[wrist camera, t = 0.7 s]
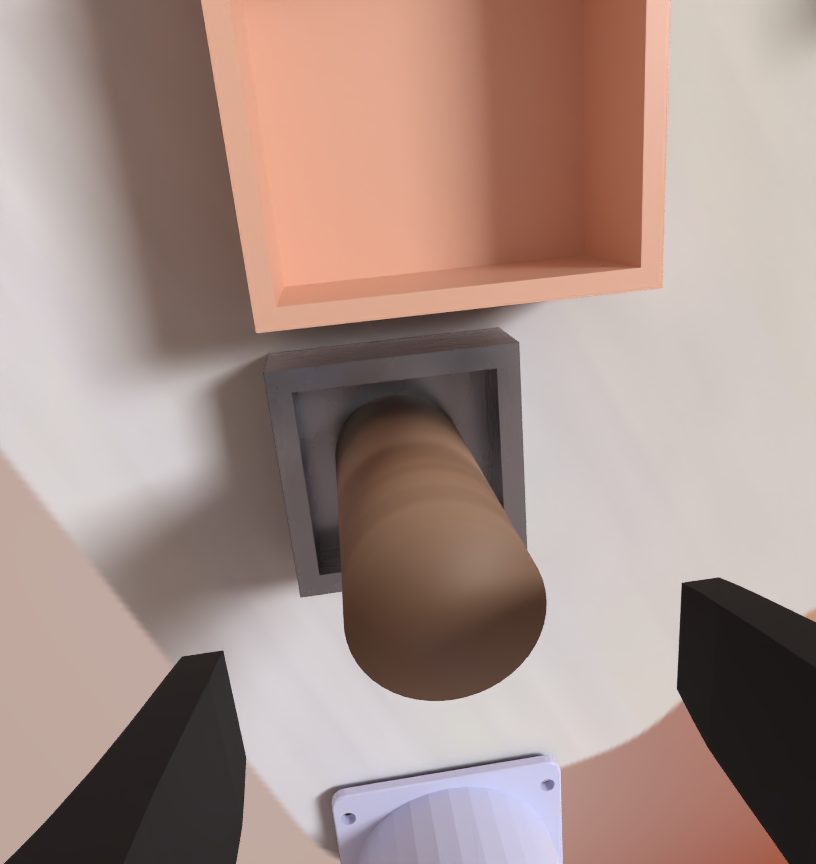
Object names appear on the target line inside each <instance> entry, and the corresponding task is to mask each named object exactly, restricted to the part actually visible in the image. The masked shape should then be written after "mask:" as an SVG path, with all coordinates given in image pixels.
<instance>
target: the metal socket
mask: <svg viewBox="0 0 816 864" xmlns="http://www.w3.org/2000/svg"><path fill="white" fill-rule="evenodd" d="M263 373H264V379H265V385H266V391H267V397H268V403H269V409H270V415H271V421H272V428H273V434H274V440H275V446H276V452H277V458H278V464H279V470H280V476H281V482H282V488H283V494H284V500H285V506H286V512H287V518H288V525H289V531H290V537H291V543H292V549H293V555H294V561H295V567H296V573H297V579H298V585H299V591H300V597H307V596H314V595H321V594H328V593H335V592H342V577H341V557H340V538H339V519H338V499H337V480H336V461H335V452H336V445H337V440H338V438H339V435H340V432H341V430H342V428H343V427H344V425H345V423H346V422H347V421H348V419H349V418H350V417H351V416H352V415H353V414H354V413H355V412H356V411H357V410H358V409H359V408H361V407H362V406H364V405H365V404H367V403H368V402H371V401H373V400H375V399H377V398H381V397H384V396H389V395H397V394H405V395H413V396H418V397H421V398H424V399H427V400H429V401H431V402H433V403H434V404H436V405H437V406H439V407H440V408H441V409H442V410H443V411H445V412H446V413H447V415H448V416H449V417H450V418H451V420H452V421H453V423H454V424H455V426H456V428H457V430H458V431H459V433H460V435H461V436H462V438H463V440H464V442H465V443H466V445H467V447H468V449H469V450H470V452H471V454H472V456H473V457H474V459H475V461H476V462H477V464H478V466H479V468H480V469H481V471H482V473H483V475H484V476H485V478H486V480H487V482H488V483H489V485H490V487H491V488H492V490H493V492H494V494H495V495H496V497H497V499H498V501H499V502H500V504H501V506H502V507H503V509H504V511H505V513H506V514H507V516H508V518H509V520H510V521H511V523H512V525H513V527H514V528H515V530H516V532H517V533H518V535H519V537H520V539H521V540H522V542H523V544H524V546H525V547H526V549H527V536H526V510H525V484H524V457H523V431H522V405H521V379H520V353H519V342H518V341H517V340H515V339H514V338H513V337H511V336H510V335H509V334H507V333H506V332H505V331H503V330H502V329H501V328H490V329H481V330H472V331H464V332H455V333H446V334H437V335H429V336H420V337H411V338H402V339H393V340H385V341H376V342H367V343H358V344H350V345H341V346H332V347H323V348H315V349H306V350H297V351H288V352H280V353H271V354H269V357H268V360H267V363H266V366H265V369H264V372H263Z"/></svg>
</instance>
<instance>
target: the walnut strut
mask: <svg viewBox="0 0 816 864" xmlns="http://www.w3.org/2000/svg"><path fill="white" fill-rule="evenodd" d="M335 461H336V480H337V499H338V519H339V538H340V557H341V577H342V596H343V615H344V631H345V636H346V640H347V644H348V646H349V649H350V652H351V654H352V656H353V657H354V659H355V661H356V662H357V664H358V665H359V666H360V668H361V669H362V670H363V671H364V672H365V673H366V674H367V675H368V676H369V677H370V678H371V679H372V680H373V681H375V682H376V683H378V684H379V685H380V686H382V687H384V688H386V689H388V690H389V691H391V692H393V693H396V694H399V695H402V696H404V697H409V698H413V699H418V700H426V701H444V700H454V699H459V698H463V697H467V696H470V695H474V694H477V693H479V692H482V691H484V690H486V689H488V688H490V687H492V686H494V685H496V684H497V683H499V682H501V681H502V680H503V679H505V678H506V677H508V676H509V675H510V674H511V673H513V672H514V671H515V670H516V669H517V668H518V667H519V666H520V665H521V664H522V663H523V662H524V660H525V659H526V658H527V657H528V656H529V654H530V653H531V651H532V650H533V648H534V646H535V645H536V643H537V641H538V639H539V637H540V634H541V631H542V628H543V625H544V621H545V616H546V592H545V587H544V583H543V580H542V577H541V575H540V573H539V570H538V568H537V566H536V565H535V563H534V561H533V559H532V558H531V556H530V554H529V553H528V551H527V549H526V547H525V546H524V544H523V542H522V540H521V539H520V537H519V535H518V533H517V532H516V530H515V528H514V527H513V525H512V523H511V521H510V520H509V518H508V516H507V514H506V513H505V511H504V509H503V507H502V506H501V504H500V502H499V501H498V499H497V497H496V495H495V494H494V492H493V490H492V488H491V487H490V485H489V483H488V482H487V480H486V478H485V476H484V475H483V473H482V471H481V469H480V468H479V466H478V464H477V462H476V461H475V459H474V457H473V456H472V454H471V452H470V450H469V449H468V447H467V445H466V443H465V442H464V440H463V438H462V436H461V435H460V433H459V431H458V430H457V428H456V426H455V424H454V423H453V421H452V420H451V418H450V417H449V416H448V415H447V413H446V412H445V411H443V410H442V409H441V408H440V407H439V406H437V405H436V404H434V403H433V402H431V401H429V400H427V399H424V398H421V397H418V396H413V395H405V394H397V395H389V396H384V397H381V398H377V399H375V400H373V401H371V402H368V403H367V404H365V405H364V406H362V407H361V408H359V409H358V410H357V411H356V412H355V413H354V414H353V415H352V416H351V417H350V418H349V419H348V421H347V422H346V423H345V425H344V427H343V428H342V430H341V432H340V435H339V438H338V440H337V445H336V452H335Z"/></svg>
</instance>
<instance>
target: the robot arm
mask: <svg viewBox="0 0 816 864" xmlns="http://www.w3.org/2000/svg"><path fill="white" fill-rule="evenodd" d="M677 690H678V692H679V694H680V696H681V698H682V700H683V702H684V703H685V706H686V708H687V709H688V711H689V713H690V715H691V717H692V719H693V721H694V723H695V725H696V727H697V728H698V730H699V732H700V734H701V736H702V738H703V739H704V741H705V743H706V745H707V747H708V748H709V750H710V751H711V753H712V754H713V755H714V757H715V759H716V760H717V762H718V763H719V765H720V766H721V767H722V769H723V770H724V772H725V773H726V775H727V776H728V777H729V779H730V780H731V782H732V783H733V785H734V786H735V788H736V789H737V791H738V792H739V793H740V795H741V796H742V798H743V799H744V800H745V802H746V803H747V805H748V806H749V808H750V809H751V810H752V812H753V813H754V815H755V816H756V817H757V819H758V820H759V822H760V823H761V825H762V826H763V827H764V829H765V830H766V832H767V833H768V834H769V836H770V837H771V839H772V840H773V841H774V843H775V844H776V846H777V847H778V849H779V850H780V852H781V853H782V854H783V856H784V857H785V858H786V860H787V861H788V863H789V864H816V622H814V621H812V620H810V619H808V618H806V617H803V616H801V615H799V614H797V613H795V612H793V611H791V610H789V609H787V608H785V607H783V606H781V605H779V604H777V603H775V602H773V601H770V600H768V599H766V598H764V597H762V596H760V595H758V594H756V593H754V592H752V591H749V590H747V589H745V588H743V587H741V586H738V585H736V584H734V583H731V582H729V581H726V580H724V579H721V578H712V579H705V580H699V581H692V582H685V583H682V592H681V613H680V635H679V656H678V677H677ZM245 769H246V755H245V750H244V745H243V741H242V736H241V731H240V727H239V722H238V717H237V713H236V708H235V703H234V699H233V694H232V690H231V685H230V680H229V676H228V671H227V666H226V662H225V657H224V652H223V651H217V652H210V653H204V654H197V655H190V656H183V657H182V658H181V659H180V660H179V661H178V662H177V664H176V665H175V666H174V667H173V669H172V670H171V671H170V672H169V673H168V675H167V676H166V677H165V679H164V680H163V681H162V683H161V684H160V685H159V686H158V688H157V689H156V690H155V692H154V693H153V694H152V695H151V697H150V698H149V699H148V701H147V702H146V703H145V704H144V706H143V707H142V708H141V710H140V711H139V712H138V713H137V715H136V716H135V717H134V718H133V720H132V721H131V722H130V724H129V725H128V726H127V727H126V729H125V730H124V731H123V732H122V734H121V735H120V736H119V737H118V738H117V740H116V741H115V742H114V743H113V745H112V746H111V747H110V748H109V749H108V751H107V752H106V753H105V754H104V756H103V757H102V758H101V759H100V760H99V762H98V763H97V764H96V765H95V767H94V768H93V769H92V770H91V771H90V772H89V774H88V775H87V776H86V777H85V778H84V779H83V780H82V781H81V782H80V784H79V785H78V786H77V787H76V788H75V789H74V790H73V792H72V793H71V794H70V795H69V796H68V797H67V798H66V799H65V800H64V802H63V803H62V804H61V805H60V806H59V807H58V808H57V809H56V811H55V812H54V813H53V814H52V815H51V816H50V817H49V818H48V819H47V821H46V822H45V823H44V824H43V825H42V826H41V827H40V828H39V829H38V830H37V831H36V832H35V833H34V834H33V835H32V836H31V837H30V838H29V839H28V840H27V841H26V842H25V843H24V844H23V845H22V846H21V847H20V848H19V849H18V850H17V851H16V852H15V854H13V855H12V856H11V857H10V858H9V859H8V860H7V861H6V862H5V863H4V864H236V860H237V854H238V848H239V842H240V836H241V830H242V821H243V806H244V790H245ZM547 779H549V780H548V781H546V782H543V781H544V780H547ZM332 813H333V819H334V825H335V831H336V837H337V843H338V849H339V855H340V861H341V864H563V859H562V815H561V771H560V767H559V765H558V762H557V760H556V759H555V758H554V757H552V756H549V755H543V756H537V757H531V758H525V759H519V760H512V761H506V762H500V763H494V764H488V765H482V766H476V767H470V768H464V769H458V770H452V771H446V772H440V773H434V774H428V775H422V776H416V777H410V778H404V779H398V780H392V781H386V782H380V783H373V784H367V785H361V786H355V787H349V788H344V789H341V790H338V791H337V792H336V793H335V794H334V795H333V797H332ZM346 813H352V814H351V815H344V814H346Z"/></svg>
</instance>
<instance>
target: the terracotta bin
mask: <svg viewBox="0 0 816 864" xmlns="http://www.w3.org/2000/svg"><path fill="white" fill-rule="evenodd" d="M201 4H202V10H203V16H204V22H205V28H206V34H207V40H208V46H209V52H210V58H211V64H212V70H213V76H214V82H215V89H216V95H217V101H218V107H219V113H220V119H221V125H222V131H223V137H224V143H225V149H226V155H227V161H228V167H229V173H230V179H231V185H232V191H233V197H234V203H235V209H236V215H237V221H238V228H239V234H240V240H241V246H242V252H243V258H244V264H245V270H246V276H247V282H248V288H249V294H250V300H251V306H252V312H253V318H254V324H255V330H256V333H264V332H273V331H282V330H291V329H300V328H309V327H318V326H327V325H336V324H345V323H354V322H363V321H372V320H381V319H390V318H398V317H407V316H416V315H425V314H434V313H443V312H452V311H461V310H470V309H479V308H488V307H497V306H506V305H515V304H524V303H533V302H542V301H551V300H560V299H569V298H578V297H587V296H596V295H604V294H613V293H622V292H631V291H640V290H649V289H658V288H662V278H663V245H664V213H665V180H666V147H667V115H668V82H669V49H670V17H671V0H201Z"/></svg>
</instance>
